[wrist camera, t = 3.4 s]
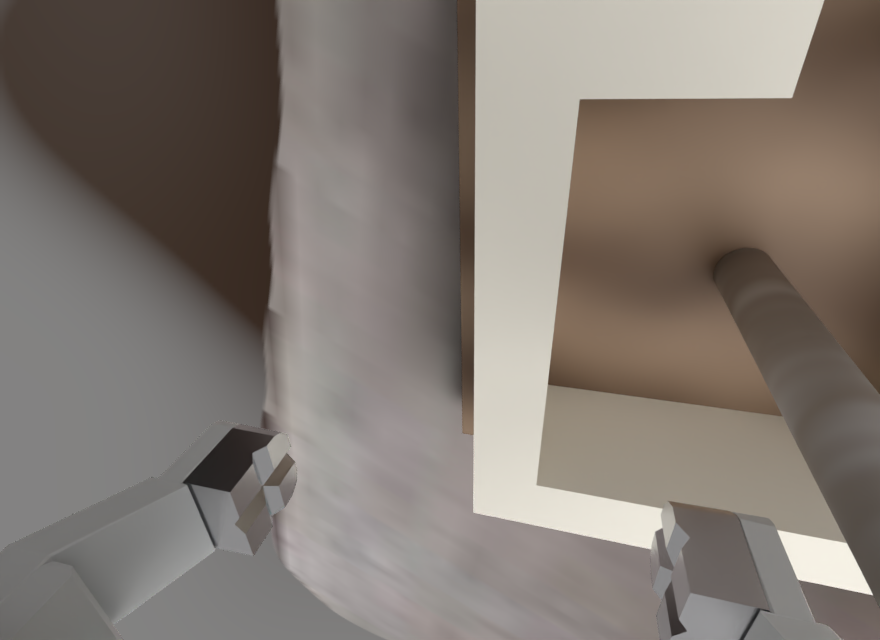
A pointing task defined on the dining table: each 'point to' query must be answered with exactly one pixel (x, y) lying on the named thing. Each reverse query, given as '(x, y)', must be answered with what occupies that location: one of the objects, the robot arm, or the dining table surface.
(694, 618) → the robot arm
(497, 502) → the link
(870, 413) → the stand
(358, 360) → the dining table surface
